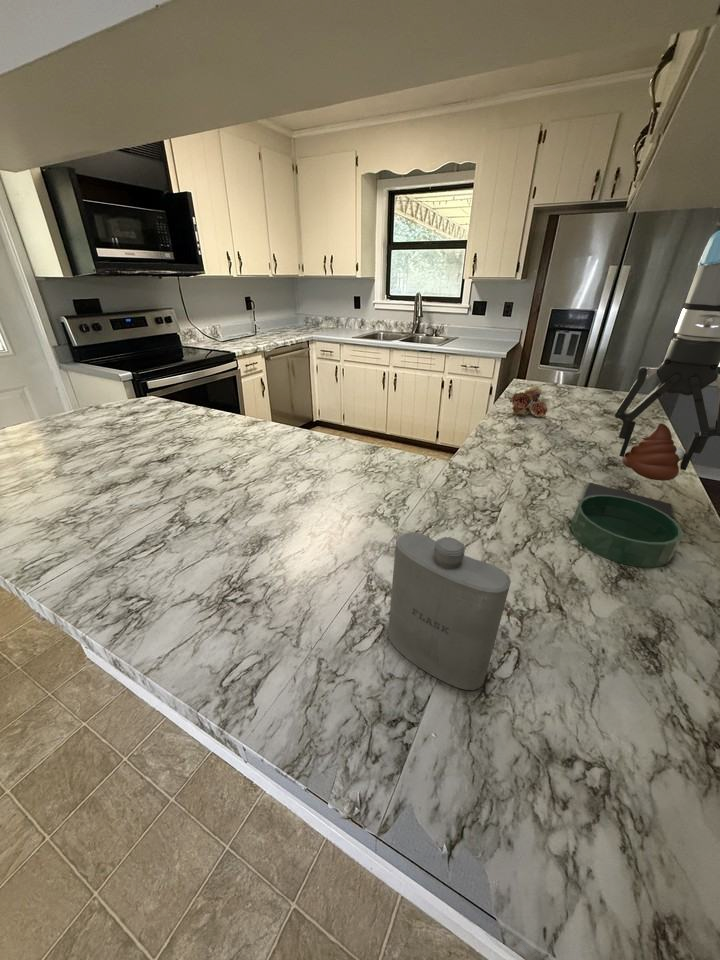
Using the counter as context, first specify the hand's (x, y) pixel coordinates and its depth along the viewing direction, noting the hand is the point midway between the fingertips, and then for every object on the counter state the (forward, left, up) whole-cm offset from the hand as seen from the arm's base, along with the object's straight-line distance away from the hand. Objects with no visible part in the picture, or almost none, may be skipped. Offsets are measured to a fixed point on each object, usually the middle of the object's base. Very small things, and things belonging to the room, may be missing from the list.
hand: (651, 460), depth 76 cm
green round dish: (0, +1, -18) cm, 18 cm away
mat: (0, -17, -18) cm, 24 cm away
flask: (+19, +51, -18) cm, 58 cm away
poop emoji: (0, 0, -2) cm, 2 cm away
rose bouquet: (+39, -73, -18) cm, 85 cm away
